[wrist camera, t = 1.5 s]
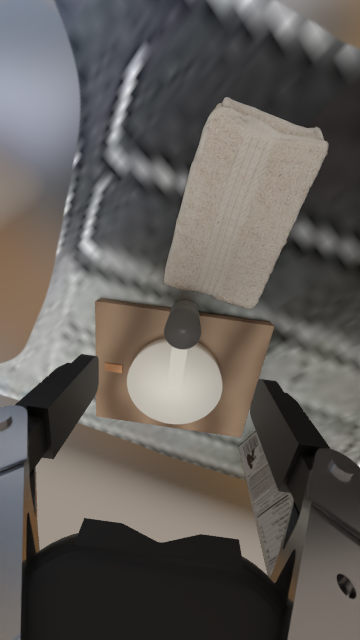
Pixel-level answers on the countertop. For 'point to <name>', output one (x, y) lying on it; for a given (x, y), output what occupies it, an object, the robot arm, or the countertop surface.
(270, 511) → the coffee box
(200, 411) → the dial
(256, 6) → the countertop surface
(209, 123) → the washcloth
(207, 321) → the dial board
